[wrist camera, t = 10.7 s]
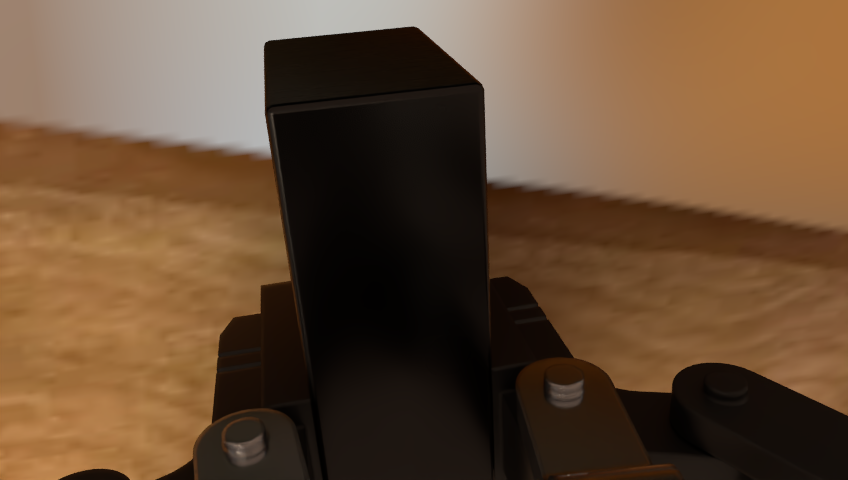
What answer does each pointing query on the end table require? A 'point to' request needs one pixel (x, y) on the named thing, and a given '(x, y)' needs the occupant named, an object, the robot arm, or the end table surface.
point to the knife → (386, 250)
